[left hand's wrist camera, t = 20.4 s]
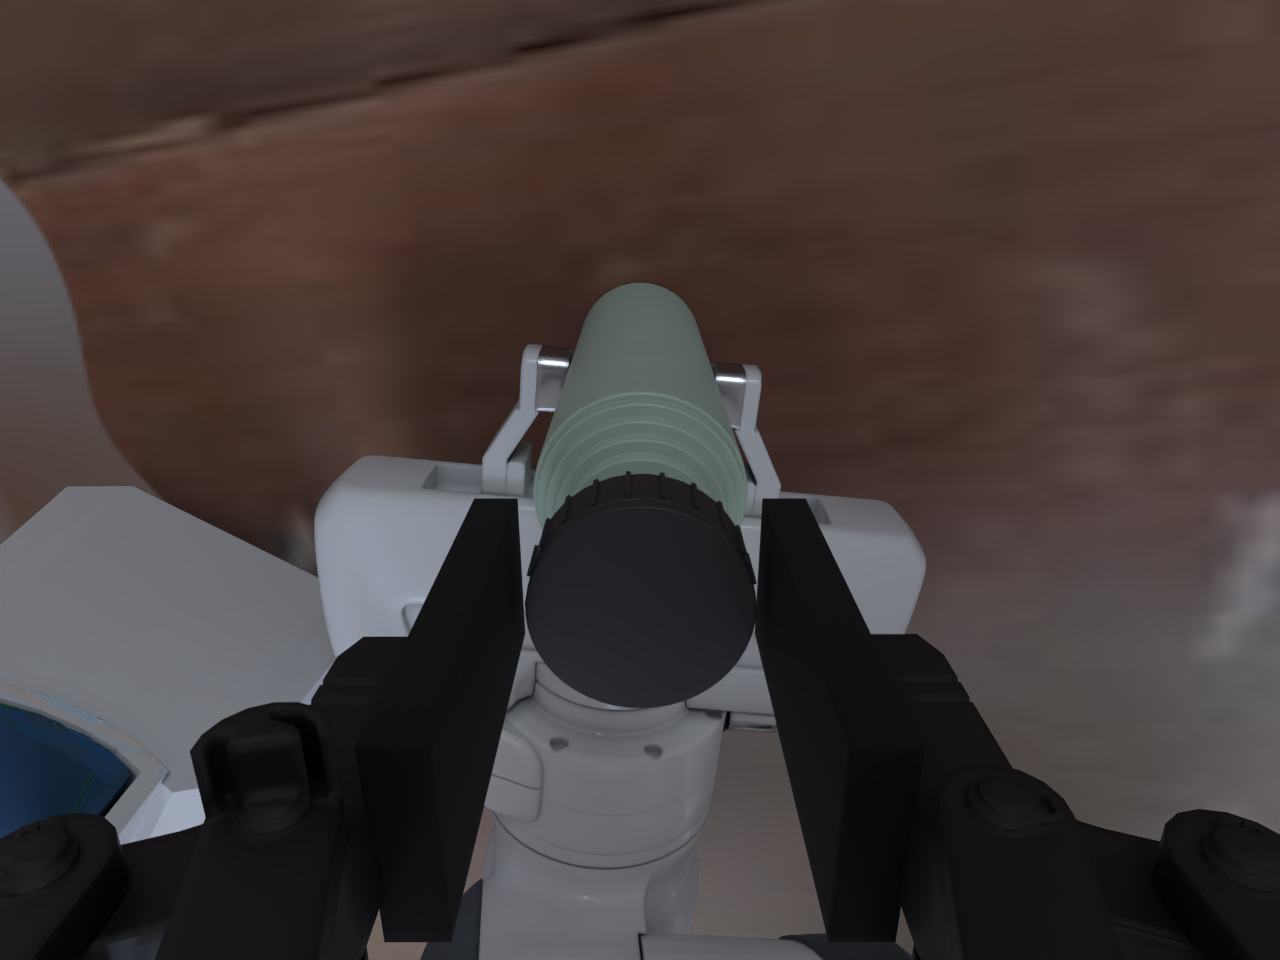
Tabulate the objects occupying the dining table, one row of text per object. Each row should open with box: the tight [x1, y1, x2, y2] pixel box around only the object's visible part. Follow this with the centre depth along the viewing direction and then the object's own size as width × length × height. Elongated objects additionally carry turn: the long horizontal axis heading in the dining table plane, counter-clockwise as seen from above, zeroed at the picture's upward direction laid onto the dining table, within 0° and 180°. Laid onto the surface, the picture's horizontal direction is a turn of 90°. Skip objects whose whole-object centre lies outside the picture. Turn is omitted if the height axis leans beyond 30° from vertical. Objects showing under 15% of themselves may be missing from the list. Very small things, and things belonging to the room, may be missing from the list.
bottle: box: [533, 283, 748, 532], centre depth 23 cm, size 5×5×20 cm
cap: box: [525, 471, 757, 708], centre depth 14 cm, size 4×4×2 cm
